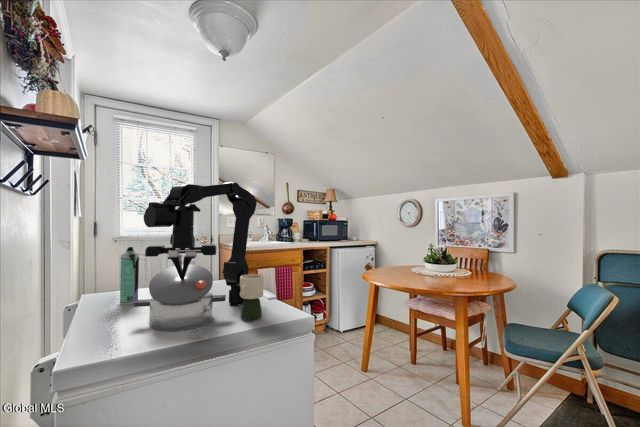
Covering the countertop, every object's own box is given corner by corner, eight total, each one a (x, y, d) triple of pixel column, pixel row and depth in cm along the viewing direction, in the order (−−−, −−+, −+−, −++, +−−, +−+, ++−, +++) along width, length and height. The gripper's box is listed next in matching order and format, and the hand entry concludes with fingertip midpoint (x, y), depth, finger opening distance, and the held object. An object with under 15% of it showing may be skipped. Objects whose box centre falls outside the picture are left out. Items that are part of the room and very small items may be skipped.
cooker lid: (214, 262, 100) (214, 256, 99) (210, 302, 84) (210, 295, 83) (158, 264, 96) (157, 257, 94) (142, 307, 79) (141, 299, 78)
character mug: (250, 312, 99) (250, 272, 99) (269, 314, 97) (270, 273, 97) (231, 323, 88) (231, 278, 89) (252, 325, 86) (253, 280, 87)
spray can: (141, 301, 109) (142, 246, 110) (127, 305, 104) (128, 248, 105) (130, 300, 111) (131, 246, 112) (116, 304, 106) (117, 247, 106)
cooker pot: (225, 309, 101) (225, 288, 101) (224, 326, 85) (225, 302, 85) (143, 315, 94) (144, 292, 94) (125, 335, 78) (126, 308, 78)
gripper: (217, 226, 100) (216, 273, 99) (154, 225, 94) (153, 275, 94) (216, 227, 89) (215, 280, 89) (145, 227, 84) (144, 283, 83)
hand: (182, 279), depth 89 cm, fingers closed, pressing on cooker lid
